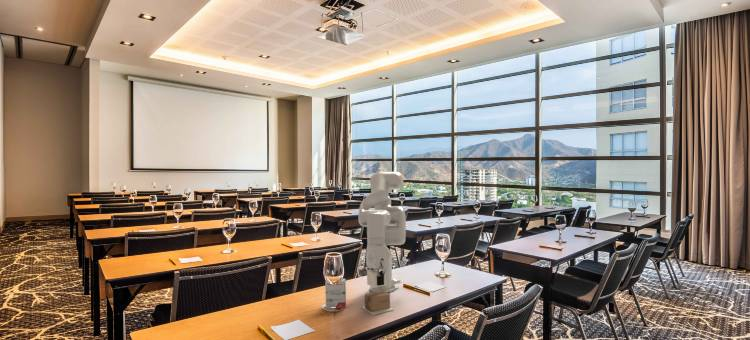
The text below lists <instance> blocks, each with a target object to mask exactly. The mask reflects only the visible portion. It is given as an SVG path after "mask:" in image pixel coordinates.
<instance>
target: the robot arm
mask: <svg viewBox="0 0 750 340" xmlns="http://www.w3.org/2000/svg"><path fill="white" fill-rule="evenodd" d="M369 184H370V190H371V191H370V193H369V194H368V195H367V196H366V197H365V198H364V199H363V200H362V201H361V202H360V205H359V207H358V209H359V210H358V218H357V220H358V224H359V225H360V226H361V227H365V228H366V236H367V237H366V238H367V239H366V240H367V241H366V242H367V243H366V244H367V245H366V250H365V251H366V253H365V254H366V256H365V261H366V262H365V264H366V267H368V270H371V269H375V270H377V274H378V276H377V285H378V286H380V285H384V275H385V272H386V286H380V287H375V288H373V287H372V286H370V285H369V291H371V293H372V292H376V291H381V290H383V291H385V292H387V293H392V292H394V291H395V290H396V286H395V285H397V284H401V279H396V278H393V277H392V276H393V275H392V274H393V273H392V272H393V271H392V269H393V263H392V259H393V257H392V252H391V250H390V248H388V246H401V245H404V244H405V242H406V236H407V235H406V234H407V233H406V232H407V230H406V229H407V226H406V225H407V222H406V211H405V208H404V207H402V206H396V205H395V206H392V199H391V197H390V196H389V193H390V190H401V189H402V188H403V186H404V177H403V175H402V173H400V172H398V171H379V172H376V173H374V174H372V175H371V176H370V178H369ZM372 208H374V209H372ZM379 270H382V271H379Z"/></svg>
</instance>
